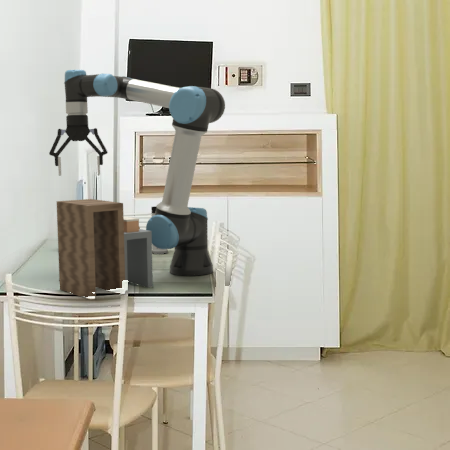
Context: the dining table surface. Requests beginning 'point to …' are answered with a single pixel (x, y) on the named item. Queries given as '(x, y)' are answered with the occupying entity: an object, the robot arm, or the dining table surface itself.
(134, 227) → the slim box
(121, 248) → the walnut stand
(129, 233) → the grey bench
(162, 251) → the travel mug
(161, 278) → the dining table surface
